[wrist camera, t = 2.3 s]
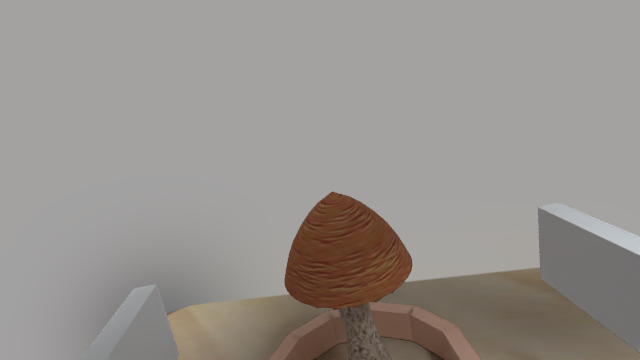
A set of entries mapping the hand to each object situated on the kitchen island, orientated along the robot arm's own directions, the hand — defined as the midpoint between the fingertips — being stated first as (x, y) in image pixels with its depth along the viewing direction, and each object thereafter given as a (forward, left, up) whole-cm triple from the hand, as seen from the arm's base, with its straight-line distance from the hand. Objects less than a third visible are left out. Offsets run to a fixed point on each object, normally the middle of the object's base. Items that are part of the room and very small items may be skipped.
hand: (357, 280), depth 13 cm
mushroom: (+5, -9, -15) cm, 18 cm away
